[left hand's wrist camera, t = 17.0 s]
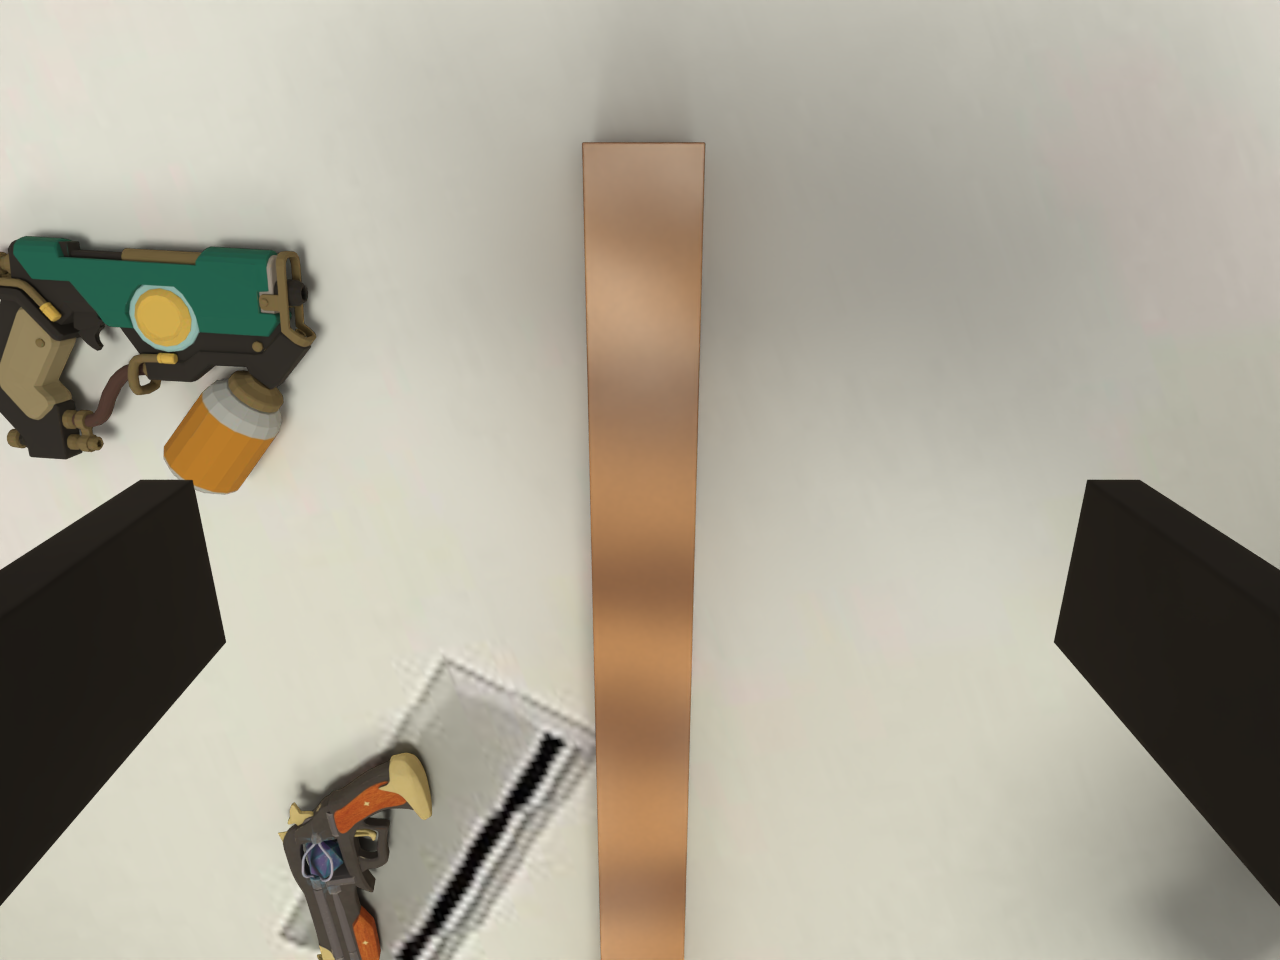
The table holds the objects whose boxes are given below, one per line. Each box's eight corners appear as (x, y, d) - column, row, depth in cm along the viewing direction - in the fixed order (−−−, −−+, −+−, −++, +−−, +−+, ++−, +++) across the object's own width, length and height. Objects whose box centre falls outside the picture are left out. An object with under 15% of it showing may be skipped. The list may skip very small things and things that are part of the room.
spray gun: (1, 422, 47) (28, 151, 42) (288, 517, 48) (345, 262, 43) (-63, 442, 43) (-41, 145, 38) (252, 545, 44) (310, 267, 39)
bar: (592, 145, 41) (582, 142, 34) (693, 145, 41) (705, 142, 34) (611, 1170, 70) (608, 1290, 63) (671, 1170, 70) (675, 1290, 63)
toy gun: (417, 769, 52) (251, 789, 51) (459, 970, 60) (316, 991, 59) (422, 738, 54) (263, 757, 53) (462, 936, 62) (325, 955, 61)
